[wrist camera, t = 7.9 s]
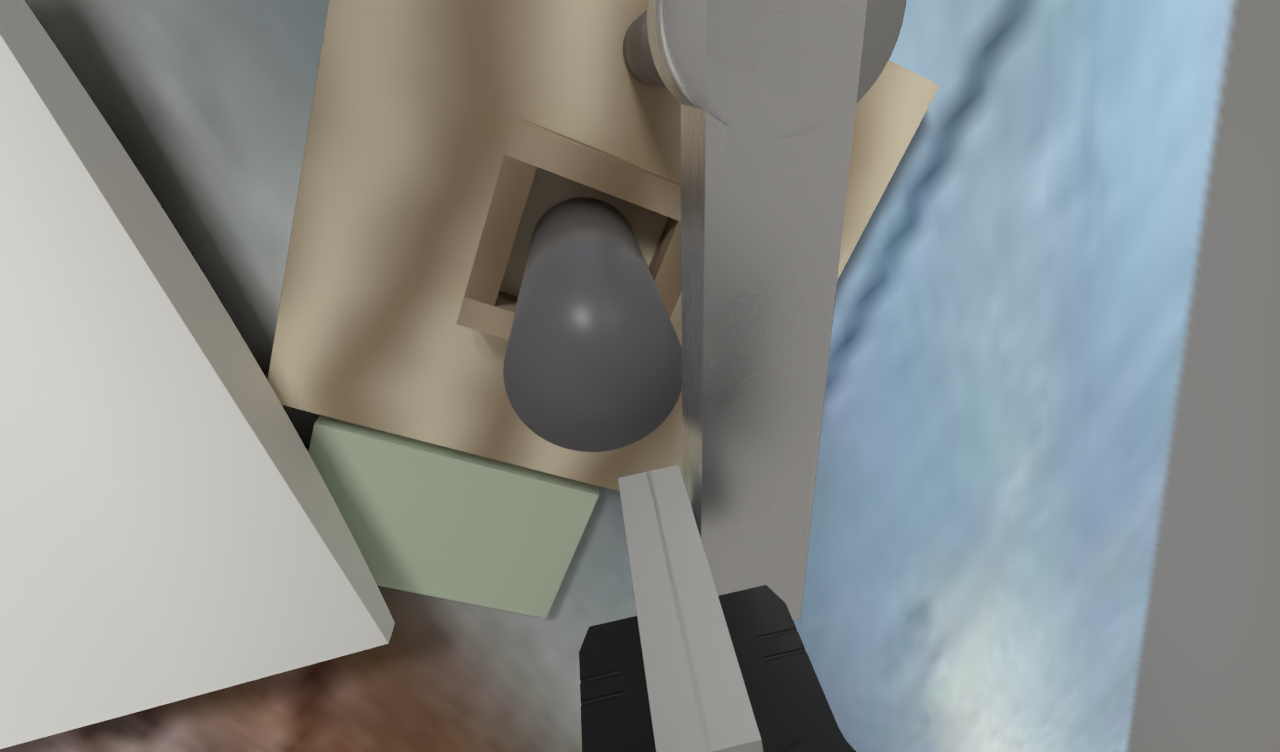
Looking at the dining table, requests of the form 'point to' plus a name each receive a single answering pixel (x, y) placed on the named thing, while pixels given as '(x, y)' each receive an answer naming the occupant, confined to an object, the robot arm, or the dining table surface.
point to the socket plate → (491, 207)
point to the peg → (590, 334)
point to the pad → (452, 517)
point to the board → (138, 445)
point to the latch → (762, 256)
